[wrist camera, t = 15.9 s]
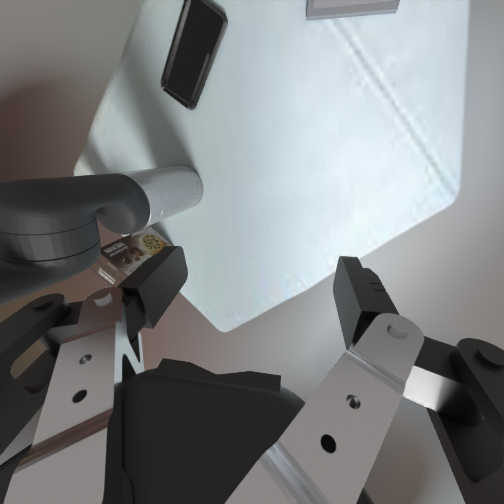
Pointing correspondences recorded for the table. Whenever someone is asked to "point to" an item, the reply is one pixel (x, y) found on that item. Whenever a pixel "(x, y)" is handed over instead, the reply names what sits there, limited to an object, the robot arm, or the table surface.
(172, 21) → the table surface
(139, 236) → the coffee box
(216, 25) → the phone
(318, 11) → the coaster
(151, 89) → the table surface
